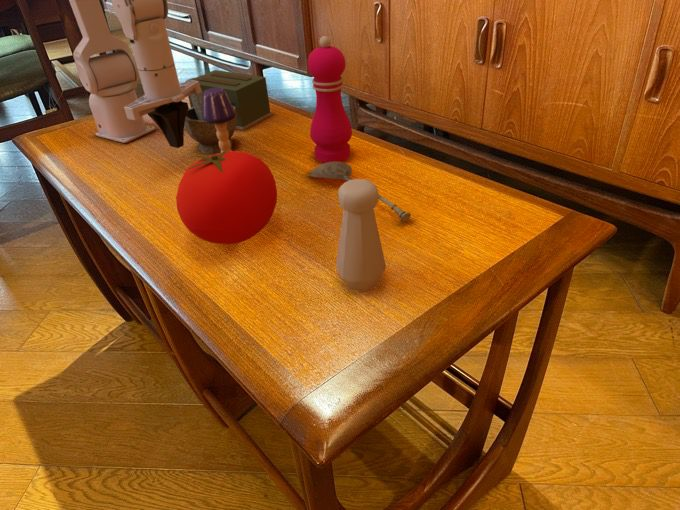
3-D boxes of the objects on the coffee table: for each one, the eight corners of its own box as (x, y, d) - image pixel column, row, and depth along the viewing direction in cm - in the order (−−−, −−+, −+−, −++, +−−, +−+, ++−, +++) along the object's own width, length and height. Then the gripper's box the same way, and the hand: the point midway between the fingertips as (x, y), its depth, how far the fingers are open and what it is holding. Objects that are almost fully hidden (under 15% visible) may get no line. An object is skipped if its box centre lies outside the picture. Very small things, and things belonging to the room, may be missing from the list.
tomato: (299, 235, 69) (289, 158, 62) (203, 272, 64) (181, 192, 57) (261, 199, 78) (249, 129, 71) (174, 229, 72) (152, 155, 66)
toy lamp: (214, 198, 79) (189, 92, 69) (236, 186, 82) (215, 82, 72) (235, 206, 77) (213, 98, 67) (257, 193, 80) (238, 87, 70)
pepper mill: (338, 168, 85) (331, 43, 73) (304, 160, 89) (291, 39, 77) (360, 152, 90) (357, 32, 78) (327, 144, 93) (318, 29, 82)
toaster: (187, 122, 107) (178, 83, 102) (222, 105, 114) (215, 68, 109) (238, 133, 100) (231, 92, 95) (272, 114, 107) (266, 76, 103)
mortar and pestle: (250, 147, 94) (239, 82, 87) (204, 163, 90) (189, 96, 83) (223, 130, 102) (210, 70, 95) (179, 144, 97) (163, 81, 90)
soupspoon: (335, 168, 87) (303, 181, 84) (332, 149, 85) (300, 163, 82) (423, 214, 71) (388, 233, 69) (423, 193, 70) (386, 211, 67)
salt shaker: (335, 268, 63) (328, 174, 55) (381, 263, 63) (380, 169, 55) (339, 298, 58) (332, 200, 50) (389, 294, 58) (389, 195, 51)
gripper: (136, 82, 73) (161, 166, 81) (206, 56, 83) (222, 134, 91) (105, 76, 77) (132, 158, 85) (176, 52, 86) (194, 128, 94)
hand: (177, 145), depth 88 cm, fingers closed
